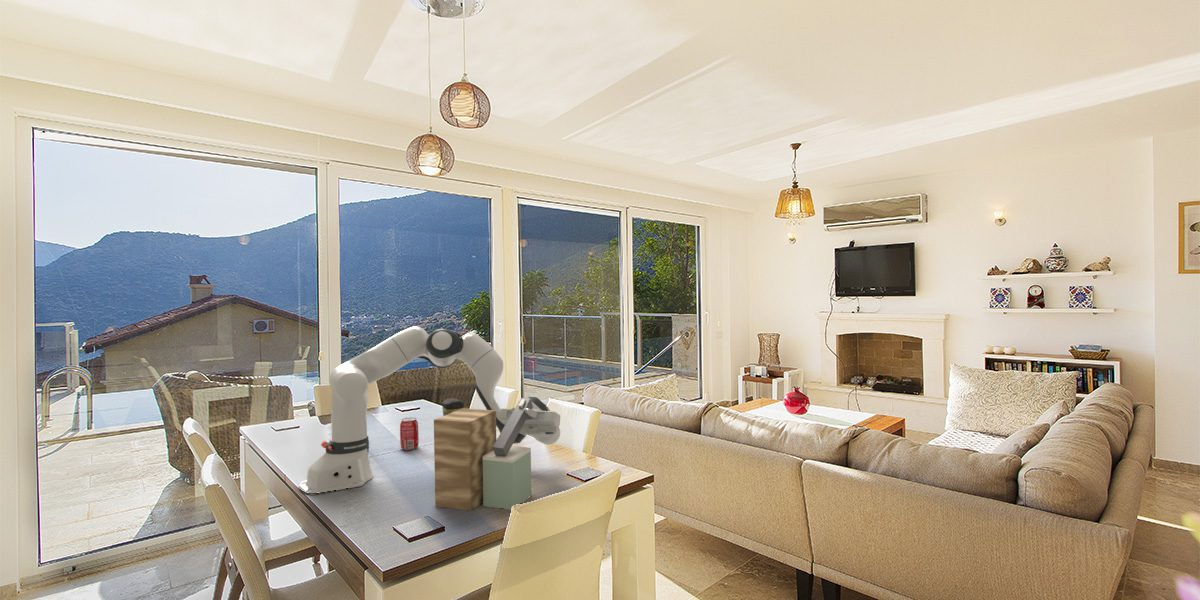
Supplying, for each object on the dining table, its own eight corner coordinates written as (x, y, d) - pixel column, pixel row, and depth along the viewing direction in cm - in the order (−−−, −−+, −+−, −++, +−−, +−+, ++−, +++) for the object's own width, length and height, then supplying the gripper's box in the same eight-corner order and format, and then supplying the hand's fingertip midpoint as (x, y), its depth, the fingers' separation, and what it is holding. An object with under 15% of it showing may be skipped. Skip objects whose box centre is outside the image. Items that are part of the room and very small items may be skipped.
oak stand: (470, 510, 163) (468, 422, 162) (435, 505, 167) (433, 419, 166) (497, 491, 178) (495, 410, 177) (464, 487, 182) (463, 408, 181)
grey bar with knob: (505, 456, 165) (502, 446, 163) (495, 455, 166) (491, 445, 164) (533, 406, 183) (530, 396, 181) (523, 406, 184) (520, 396, 182)
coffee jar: (467, 443, 233) (466, 399, 232) (448, 447, 228) (447, 402, 228) (458, 438, 241) (458, 395, 240) (440, 441, 236) (440, 398, 236)
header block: (513, 510, 163) (512, 459, 162) (483, 506, 166) (482, 456, 166) (531, 495, 174) (530, 447, 174) (502, 492, 177) (502, 445, 177)
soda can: (412, 444, 232) (411, 416, 232) (422, 447, 227) (421, 418, 227) (396, 448, 226) (396, 419, 226) (406, 452, 222) (406, 422, 222)
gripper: (510, 412, 194) (492, 399, 182) (564, 415, 187) (550, 402, 176) (506, 430, 191) (488, 418, 179) (561, 434, 185) (546, 421, 173)
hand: (519, 410), depth 178 cm, fingers closed on grey bar with knob, 3 cm apart
